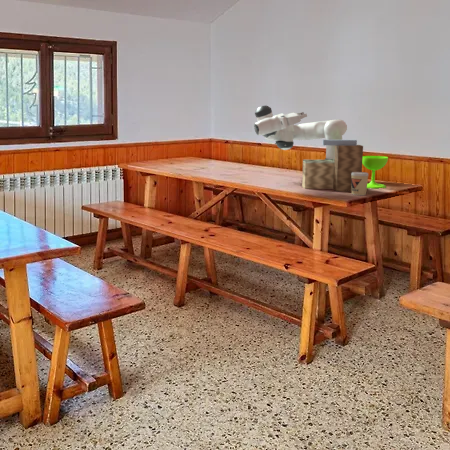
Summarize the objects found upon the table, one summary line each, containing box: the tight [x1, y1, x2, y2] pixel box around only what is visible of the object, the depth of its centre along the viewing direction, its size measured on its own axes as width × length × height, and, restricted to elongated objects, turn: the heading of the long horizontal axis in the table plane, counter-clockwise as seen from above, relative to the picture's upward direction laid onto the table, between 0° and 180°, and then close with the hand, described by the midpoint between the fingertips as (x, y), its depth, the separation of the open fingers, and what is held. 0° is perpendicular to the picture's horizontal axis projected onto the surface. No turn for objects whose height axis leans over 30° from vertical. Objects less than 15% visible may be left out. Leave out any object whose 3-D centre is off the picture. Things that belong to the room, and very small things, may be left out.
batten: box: [322, 139, 358, 146], centre depth 344 cm, size 19×3×3 cm, turn 92°
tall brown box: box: [332, 144, 364, 192], centre depth 347 cm, size 14×9×26 cm, turn 92°
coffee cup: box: [351, 171, 369, 196], centre depth 335 cm, size 9×9×12 cm
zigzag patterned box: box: [301, 159, 335, 190], centre depth 359 cm, size 24×10×16 cm, turn 92°
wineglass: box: [362, 155, 389, 190], centre depth 363 cm, size 16×16×18 cm
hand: (305, 114), depth 346 cm, fingers open, 8 cm apart
